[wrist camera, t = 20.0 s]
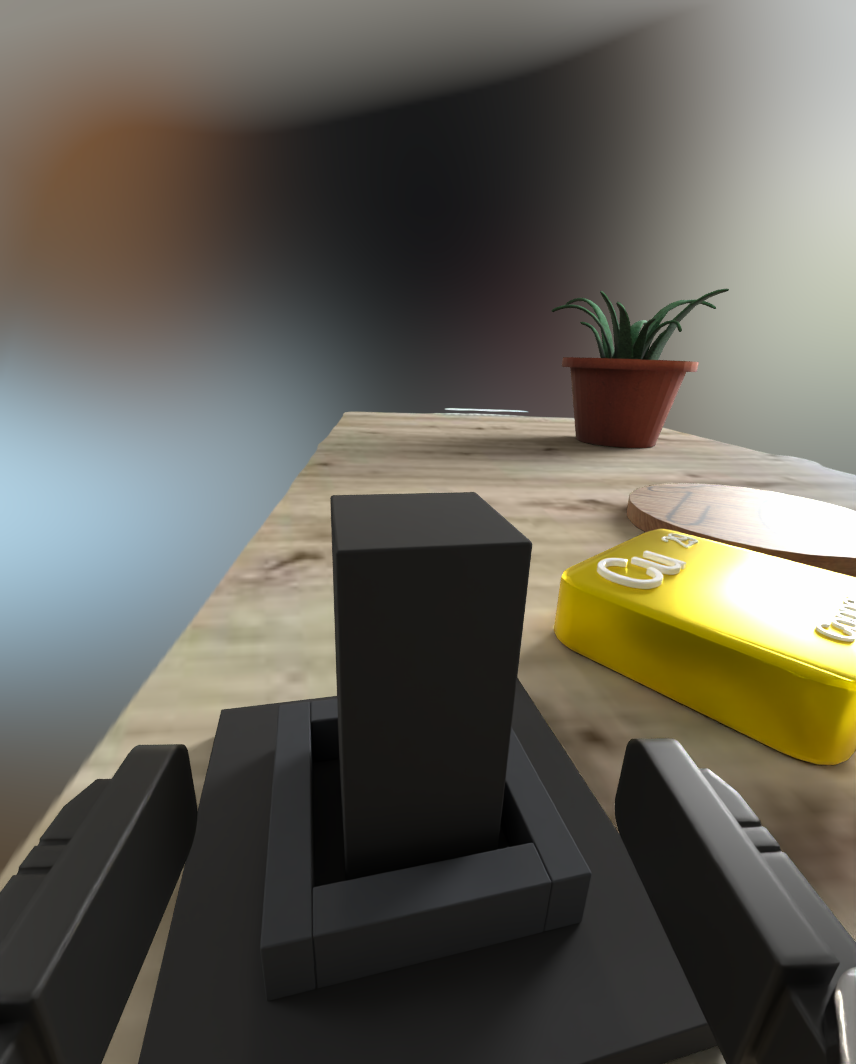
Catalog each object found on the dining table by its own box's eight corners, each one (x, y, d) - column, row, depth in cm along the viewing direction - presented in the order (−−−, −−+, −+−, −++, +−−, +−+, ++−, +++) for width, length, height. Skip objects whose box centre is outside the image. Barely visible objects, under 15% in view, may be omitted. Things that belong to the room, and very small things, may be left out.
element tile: (842, 787, 20) (882, 690, 19) (539, 637, 31) (548, 566, 29) (886, 654, 30) (915, 583, 28) (646, 574, 40) (657, 519, 39)
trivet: (610, 540, 48) (613, 522, 47) (638, 487, 68) (641, 474, 68) (956, 605, 37) (967, 582, 36) (865, 519, 58) (870, 503, 57)
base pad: (111, 1251, 9) (77, 1166, 8) (224, 731, 22) (216, 671, 21) (726, 1043, 12) (758, 962, 11) (513, 693, 25) (519, 640, 24)
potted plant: (512, 436, 110) (526, 288, 100) (571, 425, 134) (587, 305, 124) (679, 460, 90) (717, 277, 79) (713, 441, 113) (745, 299, 103)
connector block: (346, 900, 14) (335, 551, 11) (339, 775, 19) (330, 494, 15) (496, 872, 15) (534, 542, 12) (457, 759, 19) (475, 491, 16)
